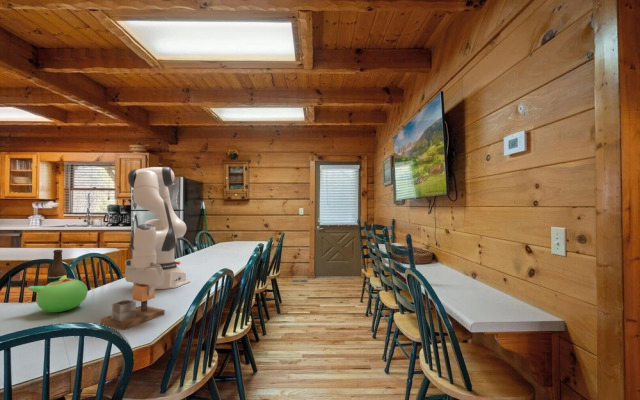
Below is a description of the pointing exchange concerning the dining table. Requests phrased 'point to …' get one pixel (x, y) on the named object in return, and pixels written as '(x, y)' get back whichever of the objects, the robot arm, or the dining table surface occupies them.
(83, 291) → the gravy boat
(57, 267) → the beer bottle
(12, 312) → the dining table surface
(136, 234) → the robot arm
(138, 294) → the terracotta sleeve
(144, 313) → the pin board
